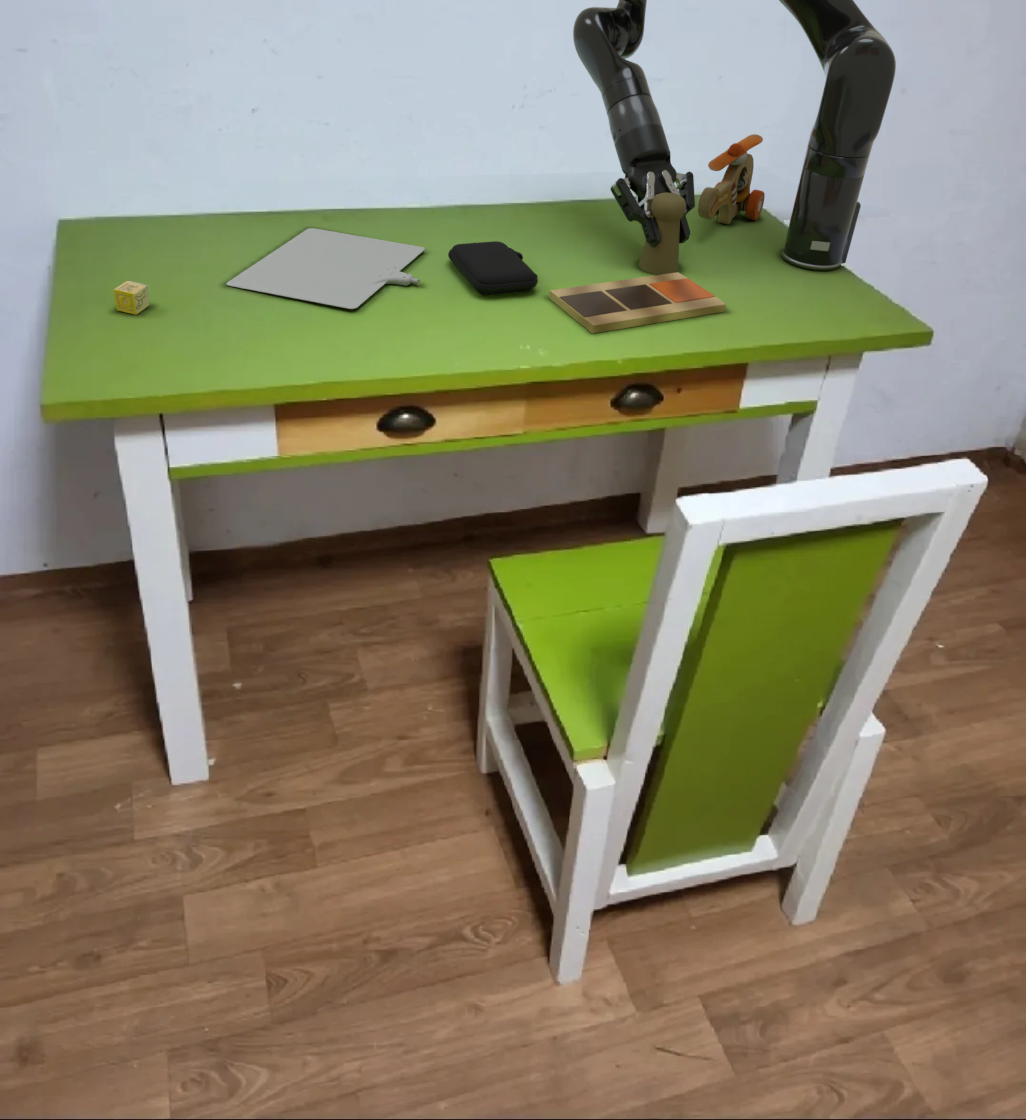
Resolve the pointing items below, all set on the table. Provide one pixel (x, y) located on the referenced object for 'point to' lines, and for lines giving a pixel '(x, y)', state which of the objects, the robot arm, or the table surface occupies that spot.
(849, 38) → the robot arm
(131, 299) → the alphabet block
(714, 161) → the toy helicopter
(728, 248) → the table surface
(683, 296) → the board
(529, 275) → the carrying case
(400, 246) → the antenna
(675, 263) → the olive brown pawn
